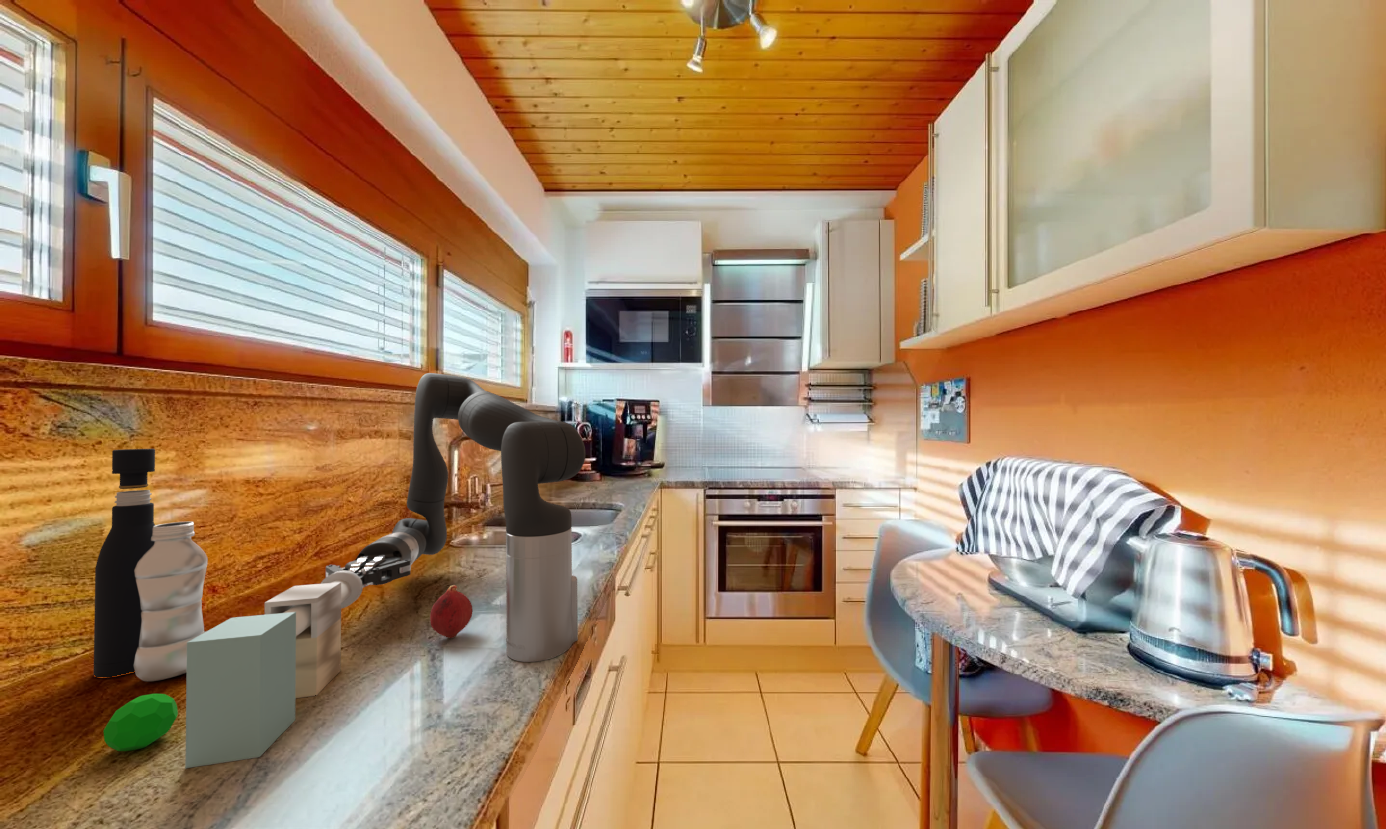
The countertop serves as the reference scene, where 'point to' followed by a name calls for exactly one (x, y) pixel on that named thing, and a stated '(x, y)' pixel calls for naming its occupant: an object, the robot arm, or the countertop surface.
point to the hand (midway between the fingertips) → (343, 588)
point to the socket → (240, 688)
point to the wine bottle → (123, 566)
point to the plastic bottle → (169, 601)
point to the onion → (451, 613)
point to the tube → (349, 594)
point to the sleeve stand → (314, 634)
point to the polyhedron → (140, 722)
